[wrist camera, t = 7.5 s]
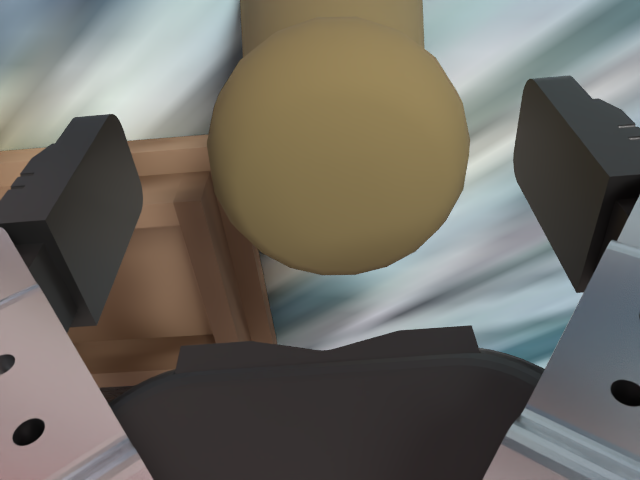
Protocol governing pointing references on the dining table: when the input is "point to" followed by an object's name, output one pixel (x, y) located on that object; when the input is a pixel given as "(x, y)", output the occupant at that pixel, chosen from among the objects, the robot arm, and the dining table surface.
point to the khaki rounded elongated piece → (337, 134)
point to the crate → (170, 269)
